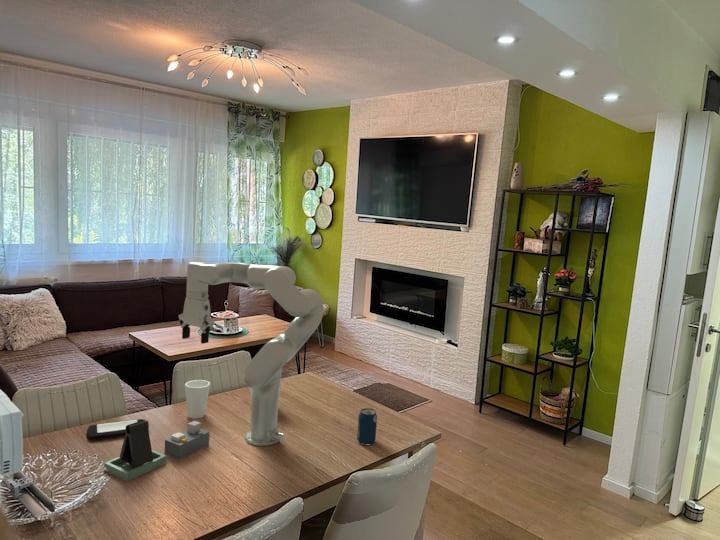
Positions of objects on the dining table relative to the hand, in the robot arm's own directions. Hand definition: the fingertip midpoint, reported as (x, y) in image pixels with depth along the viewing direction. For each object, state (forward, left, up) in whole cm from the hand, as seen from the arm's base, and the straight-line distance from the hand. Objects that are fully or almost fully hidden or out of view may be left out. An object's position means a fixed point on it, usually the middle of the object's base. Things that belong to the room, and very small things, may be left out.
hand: (195, 340), depth 182 cm
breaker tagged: (-12, +18, -30) cm, 37 cm away
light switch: (+17, +19, -34) cm, 42 cm away
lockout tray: (-9, +31, -33) cm, 46 cm away
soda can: (-60, -29, -34) cm, 75 cm away
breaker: (-12, +11, -29) cm, 33 cm away
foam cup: (+6, -8, -34) cm, 35 cm away
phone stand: (-9, +31, -31) cm, 45 cm away
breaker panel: (-13, +14, -33) cm, 38 cm away
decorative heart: (-9, -31, -34) cm, 47 cm away
